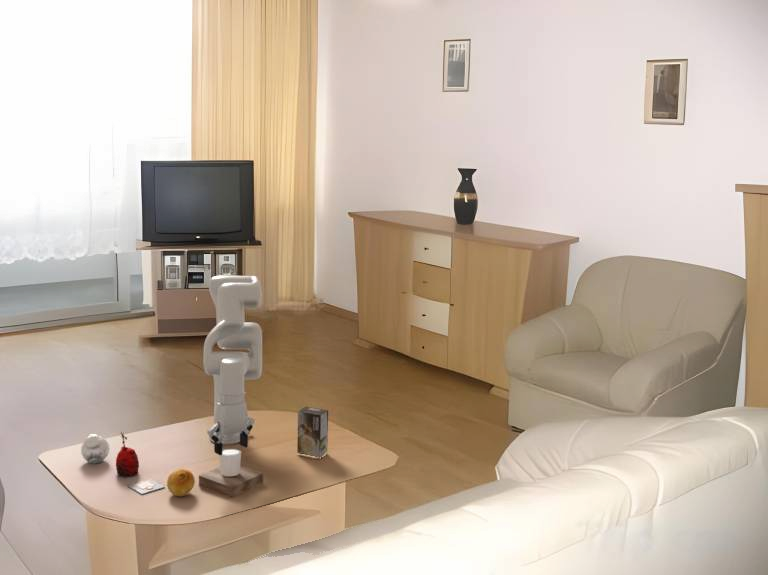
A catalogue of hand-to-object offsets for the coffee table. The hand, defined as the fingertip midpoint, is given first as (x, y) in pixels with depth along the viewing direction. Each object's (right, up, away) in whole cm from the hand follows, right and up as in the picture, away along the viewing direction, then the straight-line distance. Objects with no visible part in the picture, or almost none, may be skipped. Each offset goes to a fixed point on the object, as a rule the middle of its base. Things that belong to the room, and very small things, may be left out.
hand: (231, 449), depth 276 cm
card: (-26, -11, -3) cm, 28 cm away
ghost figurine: (-47, -7, +14) cm, 50 cm away
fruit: (-14, -13, -7) cm, 20 cm away
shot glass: (-1, -8, +1) cm, 8 cm away
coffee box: (+23, -7, +29) cm, 38 cm away
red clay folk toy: (-34, -9, +6) cm, 36 cm away
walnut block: (0, -12, +2) cm, 12 cm away
